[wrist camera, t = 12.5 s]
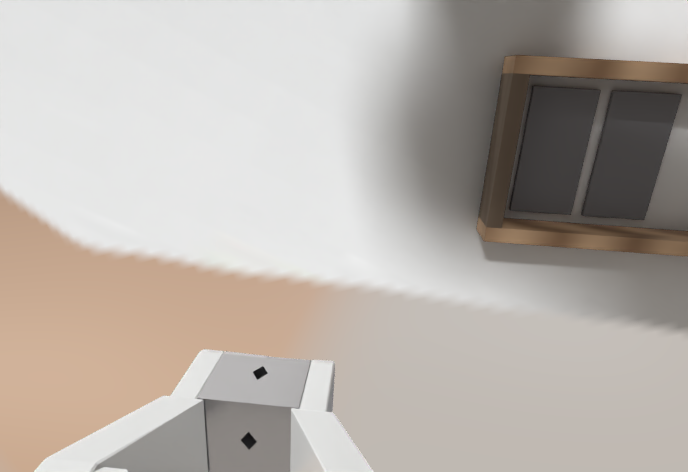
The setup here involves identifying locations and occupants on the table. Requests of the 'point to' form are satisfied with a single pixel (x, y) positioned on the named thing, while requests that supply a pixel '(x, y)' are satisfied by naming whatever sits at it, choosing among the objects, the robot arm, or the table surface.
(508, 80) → the trap box
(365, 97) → the table surface
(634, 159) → the mats
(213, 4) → the table surface
